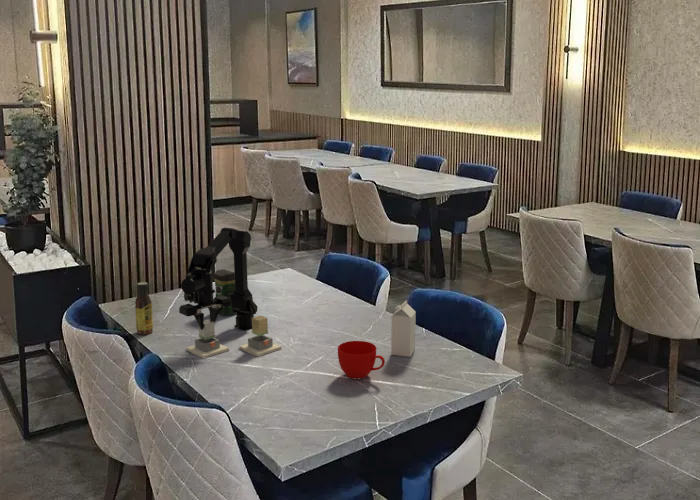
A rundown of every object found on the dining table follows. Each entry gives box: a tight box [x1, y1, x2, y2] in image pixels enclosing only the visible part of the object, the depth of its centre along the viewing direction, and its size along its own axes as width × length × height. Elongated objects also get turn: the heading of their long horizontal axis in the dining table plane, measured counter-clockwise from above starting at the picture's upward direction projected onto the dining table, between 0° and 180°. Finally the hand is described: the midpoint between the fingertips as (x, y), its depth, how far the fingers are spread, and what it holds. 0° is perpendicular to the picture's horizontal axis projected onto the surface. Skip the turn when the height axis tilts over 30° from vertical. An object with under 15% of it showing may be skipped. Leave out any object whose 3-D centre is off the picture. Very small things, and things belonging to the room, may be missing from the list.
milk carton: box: [390, 299, 417, 358], centre depth 269 cm, size 7×7×19 cm
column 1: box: [198, 318, 216, 340], centre depth 271 cm, size 4×4×6 cm
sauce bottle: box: [134, 281, 154, 335], centre depth 289 cm, size 7×6×20 cm
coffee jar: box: [213, 268, 236, 317], centre depth 313 cm, size 10×8×19 cm
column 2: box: [251, 315, 269, 336], centre depth 273 cm, size 4×4×6 cm
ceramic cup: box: [337, 340, 386, 380], centre depth 249 cm, size 13×17×10 cm
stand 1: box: [185, 337, 230, 359], centre depth 272 cm, size 11×11×4 cm
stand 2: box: [238, 334, 282, 357], centre depth 274 cm, size 11×11×4 cm
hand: (206, 328), depth 271 cm, fingers closed on column 1, 4 cm apart
